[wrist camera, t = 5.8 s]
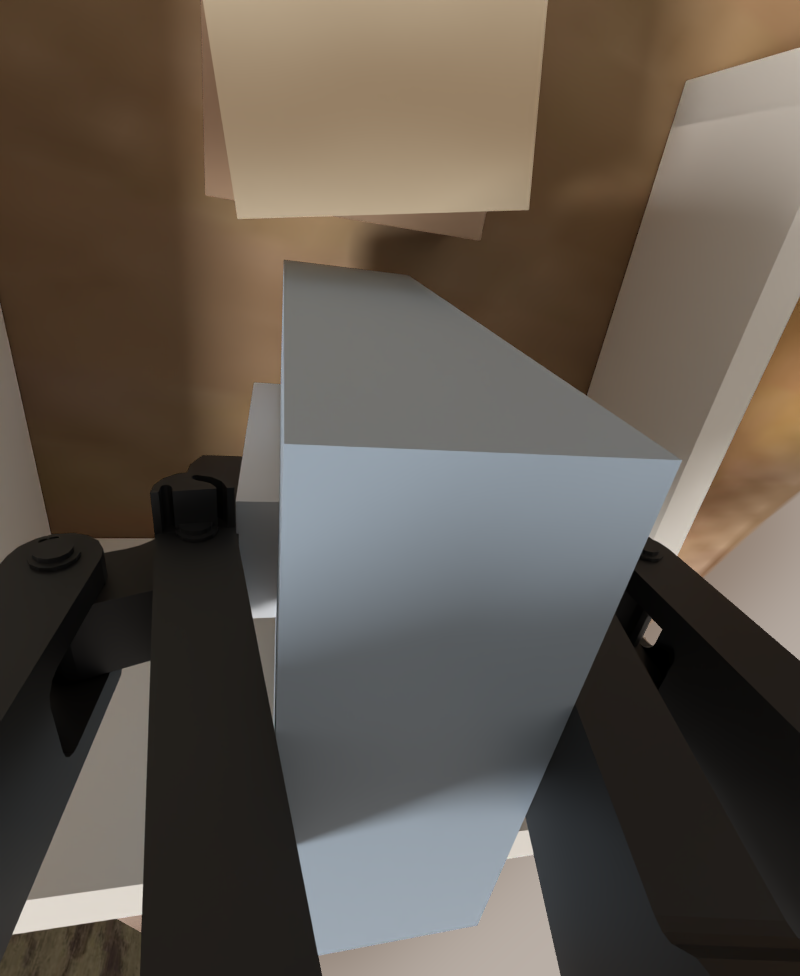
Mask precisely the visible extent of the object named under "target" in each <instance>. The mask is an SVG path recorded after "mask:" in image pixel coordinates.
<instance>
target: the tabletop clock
mask: <svg viewBox="0 0 800 976" xmlns="http://www.w3.org/2000/svg"><path fill="white" fill-rule="evenodd" d="M140 958H141V932H139V931H137V930H135V929H134V928H132V927H130V926H128V925H126V924H125V923H123V922H121V921H119V920H117V919H111V920H105V921H98V922H92V923H85V924H78V925H72V926H65V927H59V928H52V929H46V930H39V931H33V932H26V933H20V934H13V935H12V936H11V939H10V941H9V943H8V946H7V948H6V951H5V953H4V955H3V958H2V960H1V962H0V976H140Z"/></svg>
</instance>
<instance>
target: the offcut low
mask: <svg viewBox="0 0 800 976" xmlns="http://www.w3.org/2000/svg"><path fill="white" fill-rule="evenodd" d="M201 39H202V82H203V125H204V167H205V195H206V196H212V197H218V198H224V199H230V200H234V194H233V187H232V181H231V175H230V168H229V162H228V156H227V150H226V143H225V137H224V131H223V124H222V118H221V112H220V105H219V99H218V93H217V87H216V80H215V74H214V68H213V61H212V55H211V49H210V42H209V36H208V30H207V24H206V17H205V11H204V5H203V0H201ZM485 216H486V211H481V212H448V213H416V214H384V215H351V216H333V217H339V218H345V219H351V220H357V221H363V222H369V223H375V224H381V225H387V226H393V227H399V228H405V229H411V230H417V231H424V232H430V233H436V234H442V235H448V236H454V237H460V238H466V239H472V240H478V241H481V236H482V231H483V226H484V221H485Z"/></svg>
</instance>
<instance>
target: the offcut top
mask: <svg viewBox="0 0 800 976" xmlns="http://www.w3.org/2000/svg"><path fill="white" fill-rule="evenodd" d="M547 4H548V0H203V5H204V11H205V17H206V24H207V30H208V36H209V42H210V49H211V55H212V61H213V68H214V74H215V80H216V87H217V93H218V99H219V105H220V112H221V118H222V124H223V131H224V137H225V143H226V150H227V156H228V162H229V168H230V175H231V181H232V187H233V194H234V200H235V206H236V213H237V219H254V218H286V217H319V216H351V215H384V214H416V213H448V212H481V211H513V210H529V203H530V192H531V181H532V170H533V159H534V148H535V137H536V126H537V115H538V104H539V93H540V82H541V71H542V60H543V49H544V38H545V26H546V15H547Z"/></svg>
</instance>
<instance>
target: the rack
mask: <svg viewBox="0 0 800 976" xmlns="http://www.w3.org/2000/svg"><path fill="white" fill-rule="evenodd" d="M799 297H800V48H796V49H793V50H789V51H786V52H782V53H779V54H776V55H772V56H769V57H765V58H762V59H759V60H755V61H752V62H748V63H745V64H742V65H738V66H735V67H731V68H728V69H725V70H721V71H718V72H714V73H711V74H708V75H704V76H701V77H697V78H694V79H691V80H687V81H686V83H685V86H684V89H683V92H682V96H681V99H680V102H679V105H678V108H677V111H676V115H675V118H674V121H673V124H672V127H671V130H670V134H669V137H668V140H667V143H666V146H665V149H664V153H663V156H662V159H661V162H660V165H659V168H658V172H657V175H656V178H655V181H654V184H653V187H652V191H651V194H650V197H649V200H648V203H647V206H646V210H645V213H644V216H643V219H642V222H641V225H640V229H639V232H638V235H637V238H636V241H635V244H634V248H633V251H632V254H631V257H630V260H629V264H628V267H627V270H626V273H625V276H624V279H623V283H622V286H621V289H620V292H619V295H618V298H617V302H616V305H615V308H614V311H613V314H612V317H611V321H610V324H609V327H608V330H607V333H606V336H605V340H604V343H603V346H602V349H601V352H600V355H599V359H598V362H597V365H596V368H595V371H594V374H593V378H592V381H591V384H590V387H589V390H588V393H587V396H588V397H589V398H591V399H592V400H594V401H595V402H597V403H598V404H600V405H601V406H602V407H604V408H605V409H607V410H608V411H610V412H611V413H613V414H614V415H616V416H617V417H619V418H620V419H622V420H623V421H625V422H626V423H628V424H629V425H631V426H632V427H634V428H635V429H637V430H638V431H639V432H641V433H642V434H644V435H645V436H647V437H648V438H650V439H651V440H653V441H654V442H656V443H657V444H659V445H660V446H662V447H663V448H665V449H666V450H668V451H669V452H671V453H672V454H674V455H675V456H676V457H678V458H679V459H681V460H682V462H681V464H680V466H679V469H678V471H677V473H676V475H675V478H674V480H673V482H672V485H671V487H670V489H669V491H668V494H667V496H666V498H665V500H664V503H663V505H662V507H661V510H660V512H659V514H658V516H657V519H656V521H655V523H654V525H653V528H652V530H651V532H650V535H649V537H650V538H651V539H653V540H655V541H657V542H659V543H661V544H662V545H664V546H665V547H667V548H668V549H670V550H671V551H672V552H673V553H674V554H675V555H678V553H679V551H680V549H681V547H682V544H683V542H684V540H685V538H686V536H687V534H688V532H689V530H690V528H691V525H692V523H693V521H694V519H695V517H696V515H697V513H698V511H699V508H700V506H701V504H702V502H703V500H704V498H705V496H706V494H707V492H708V489H709V487H710V485H711V483H712V481H713V479H714V477H715V475H716V473H717V470H718V468H719V466H720V464H721V462H722V460H723V458H724V456H725V453H726V451H727V449H728V447H729V445H730V443H731V441H732V439H733V437H734V434H735V432H736V430H737V428H738V426H739V424H740V422H741V420H742V417H743V415H744V413H745V411H746V409H747V407H748V405H749V403H750V401H751V398H752V396H753V394H754V392H755V390H756V388H757V386H758V384H759V382H760V379H761V377H762V375H763V373H764V371H765V369H766V367H767V365H768V362H769V360H770V358H771V356H772V354H773V352H774V350H775V348H776V346H777V343H778V341H779V339H780V337H781V335H782V333H783V331H784V329H785V327H786V324H787V322H788V320H789V318H790V316H791V314H792V312H793V310H794V307H795V305H796V303H797V301H798V299H799ZM48 535H51V532H50V527H49V522H48V518H47V513H46V509H45V504H44V500H43V495H42V491H41V486H40V482H39V477H38V473H37V468H36V463H35V459H34V454H33V450H32V445H31V441H30V436H29V432H28V427H27V423H26V418H25V414H24V409H23V404H22V400H21V395H20V391H19V386H18V382H17V377H16V373H15V368H14V364H13V359H12V355H11V350H10V345H9V341H8V336H7V332H6V327H5V323H4V318H3V314H2V309H1V305H0V563H1V562H2V561H3V560H4V559H5V557H6V556H7V555H8V554H10V553H11V552H12V551H14V550H15V549H16V548H17V547H19V546H20V545H23V544H25V543H27V542H29V541H31V540H34V539H36V538H40V537H43V536H48ZM94 539H96V540H98V541H99V542H100V544H101V546H102V547H103V550H104V553H106V552H111V551H117V550H122V549H127V548H131V547H135V546H139V545H142V544H144V543H147V542H149V541H152V540H153V539H155V538H94ZM275 619H276V617H273V618H253V622H254V627H255V632H256V637H257V642H258V648H259V653H260V658H261V663H262V668H263V673H264V679H265V684H266V689H267V694H268V699H269V704H270V710H271V715H272V720H273V724H274V672H275ZM643 638H644V639H645V640H646V638H645V637H644V636H643ZM646 641H647V640H646ZM647 642H648V641H647ZM648 643H649V642H648ZM649 644H650V643H649ZM650 645H651V644H650ZM149 689H150V661H147V662H144V663H140V664H137V665H134V666H130V667H127V668H123V669H122V673H121V677H120V679H119V681H118V684H117V686H116V689H115V691H114V693H113V696H112V698H111V700H110V703H109V705H108V708H107V710H106V712H105V715H104V717H103V719H102V722H101V724H100V727H99V729H98V731H97V734H96V736H95V739H94V741H93V743H92V746H91V748H90V750H89V753H88V755H87V758H86V760H85V762H84V765H83V767H82V770H81V772H80V774H79V777H78V779H77V781H76V784H75V786H74V789H73V791H72V793H71V796H70V798H69V800H68V803H67V805H66V808H65V810H64V812H63V815H62V817H61V820H60V822H59V824H58V827H57V829H56V831H55V834H54V836H53V839H52V841H51V843H50V846H49V848H48V850H47V853H46V855H45V858H44V860H43V862H42V865H41V867H40V870H39V872H38V874H37V877H36V879H35V881H34V884H33V886H32V889H31V891H30V893H29V896H28V898H27V900H26V903H25V905H24V908H23V910H22V912H21V915H20V917H19V920H18V922H17V924H16V927H15V929H14V931H13V934H20V933H26V932H33V931H39V930H46V929H52V928H59V927H65V926H72V925H78V924H85V923H92V922H98V921H105V920H111V919H118V918H124V917H131V916H137V915H142V898H143V868H144V838H145V809H146V779H147V749H148V719H149ZM530 855H534V854H533V849H532V845H531V840H530V836H529V831H528V827H527V822H526V818H524V821H523V823H522V825H521V827H520V830H519V832H518V834H517V836H516V839H515V841H514V843H513V845H512V848H511V850H510V852H509V855H508V857H507V859H510V858H517V857H524V856H530ZM13 934H12V935H13Z"/></svg>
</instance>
